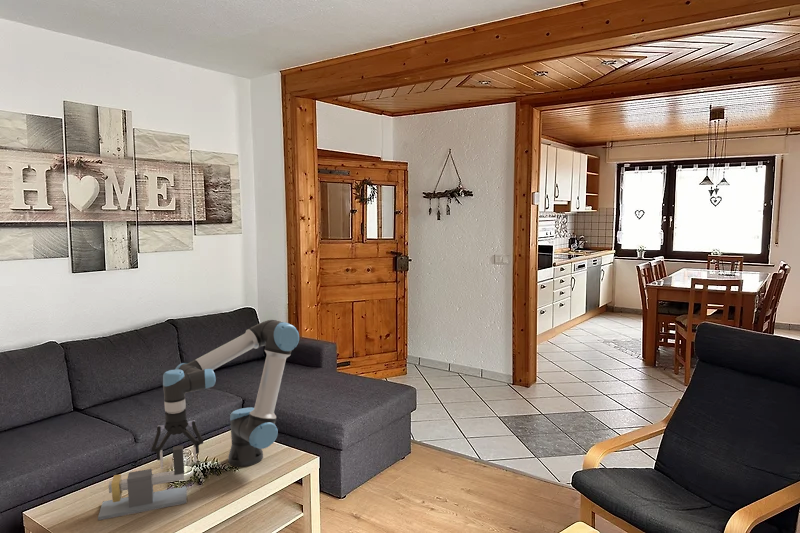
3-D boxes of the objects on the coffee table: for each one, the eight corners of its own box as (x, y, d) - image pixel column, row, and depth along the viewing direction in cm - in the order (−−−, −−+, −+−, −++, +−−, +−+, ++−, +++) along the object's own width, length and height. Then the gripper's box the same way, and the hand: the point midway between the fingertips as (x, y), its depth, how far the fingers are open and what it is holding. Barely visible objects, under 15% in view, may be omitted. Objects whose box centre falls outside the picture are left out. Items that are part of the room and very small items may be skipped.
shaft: (184, 475, 216) (182, 445, 215) (184, 479, 213) (182, 448, 212) (110, 489, 207) (107, 457, 206) (109, 493, 204) (106, 461, 202)
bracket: (186, 488, 221) (184, 460, 220) (186, 503, 210) (184, 472, 209) (103, 504, 210) (100, 474, 209) (98, 520, 199) (95, 488, 198)
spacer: (122, 492, 210) (121, 474, 209) (120, 501, 203) (118, 482, 203) (115, 493, 209) (113, 475, 209) (112, 502, 202) (111, 483, 202)
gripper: (207, 402, 219) (210, 455, 221) (142, 411, 211) (146, 466, 213) (208, 408, 212) (211, 462, 214) (140, 418, 204) (144, 474, 206)
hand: (178, 464), depth 213 cm, fingers open, 11 cm apart
